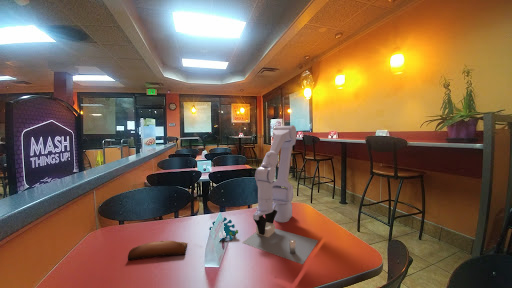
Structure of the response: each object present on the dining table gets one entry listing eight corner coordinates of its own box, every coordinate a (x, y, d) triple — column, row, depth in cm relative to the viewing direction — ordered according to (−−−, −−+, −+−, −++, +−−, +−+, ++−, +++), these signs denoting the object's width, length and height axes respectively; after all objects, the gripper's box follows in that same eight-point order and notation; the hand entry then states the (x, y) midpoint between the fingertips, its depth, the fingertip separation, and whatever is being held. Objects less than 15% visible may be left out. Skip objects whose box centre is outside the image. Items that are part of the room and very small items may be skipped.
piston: (290, 250, 69) (290, 238, 69) (296, 252, 68) (296, 240, 68) (288, 253, 67) (288, 241, 67) (294, 255, 66) (294, 243, 66)
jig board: (264, 227, 88) (264, 225, 88) (318, 243, 75) (318, 240, 75) (241, 245, 74) (241, 242, 74) (302, 267, 62) (302, 264, 62)
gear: (205, 241, 74) (212, 214, 81) (207, 246, 79) (214, 220, 85) (234, 246, 73) (240, 219, 80) (235, 250, 78) (240, 224, 84)
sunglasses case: (189, 242, 77) (187, 231, 73) (187, 261, 71) (184, 250, 68) (137, 247, 74) (132, 236, 70) (131, 267, 68) (125, 257, 65)
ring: (263, 228, 85) (263, 221, 85) (274, 231, 82) (274, 224, 82) (256, 233, 81) (256, 226, 81) (268, 237, 78) (268, 229, 78)
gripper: (265, 191, 89) (266, 221, 90) (246, 200, 77) (246, 236, 78) (280, 193, 85) (280, 225, 86) (262, 204, 73) (262, 241, 74)
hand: (265, 231), depth 82 cm, fingers closed on ring, 5 cm apart
